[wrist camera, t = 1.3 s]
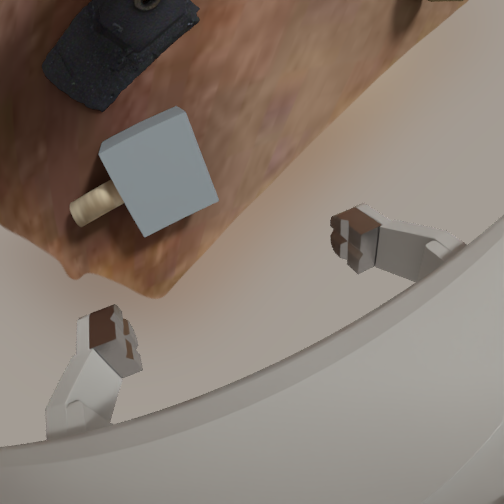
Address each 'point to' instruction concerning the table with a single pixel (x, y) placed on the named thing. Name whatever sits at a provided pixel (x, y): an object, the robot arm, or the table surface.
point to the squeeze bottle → (444, 0)
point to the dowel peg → (95, 203)
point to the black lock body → (114, 46)
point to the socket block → (159, 170)
